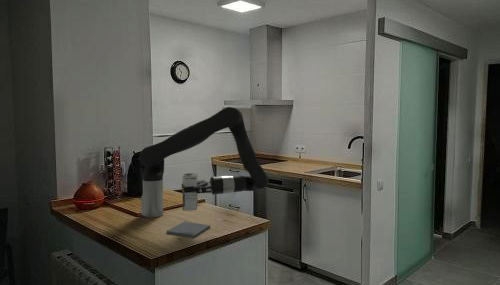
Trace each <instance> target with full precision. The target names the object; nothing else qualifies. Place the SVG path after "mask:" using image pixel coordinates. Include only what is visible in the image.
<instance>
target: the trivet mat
mask: <svg viewBox="0 0 500 285" xmlns="http://www.w3.org/2000/svg"><path fill="white" fill-rule="evenodd" d="M210 228H211V225H209V224H205V223H203V224H202V223H197V222H190V221H182V222H180V223H179V224H177V225H174V226H173V227H171V228H169V229H168V230H166V234H170V235H175V236H180V237H186V238H191V237H192V238H191V239H195V238H196V237H198V236H199V235H201V234H203V233H204V232H206V231H207V230H209V229H210ZM202 232H203V233H202Z"/></svg>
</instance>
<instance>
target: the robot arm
mask: <svg viewBox="0 0 500 285" xmlns="http://www.w3.org/2000/svg"><path fill="white" fill-rule="evenodd" d="M227 128H228V129H229V131H230V133H231V134H232V136H233V139H234V141H235V145H236V150H237V153H238V156H239V159H240V161H241V164H242V167H243V168H244V170H245V171H246V172H248V173H249V175H246V176H244V175H241V174H239V175H219V176H211V177H210V179H209V181H207V180H205V179H200V180H197V186H194V187H193V186H192V187H184V192H185V193H188V192H194V193H197V195H198V194H207V193H208V194H212V195H222V194H223V195H224V194H231V193H237V192H238V193H239V192H255V191H256V192H257V191H261V190H264V189H265V188H266V187H267V186H268V184H269V179H268V176H267V174H266V171H265V170H264V168H263V167H262V166H261V164H260V163H259V159H258V156H257V155H256V153H255V152H256V151H255V150H254V148H253V145H252V144H251V141H250V138H249V135H248V133H247V130H246V127H245V121H244V116H243V113H242V112H241V110H240V109H238V108H237V107H235V106H226V107H224V108H223V109H221V110H219V111H218V112H216V113H215V114H212V115H211V116H210V117H208V118H206V119H203V120H200V121H198V122H195V123H193V124H192V125H190V126H187V127H186V128H184V129H181V130H179V131H177V132H176V133H174V134H173V135H171V136H169V137H167V138H166V139H164V140H162V141H161V142H158V143H155V144H152V145H149V146H146V147H144V148H143V149H142V150H141V151H140V153H139V156H138V159H139V162H140V164H142V165H143V166H144V167H145V168H144V171H143V174H142V195H141V197H140V198H141V200H140V201H141V216H143V217H146V218H159V217H161V216H163V215H164V186H163V185H164V174H165V159H166V158H168V157H170V156H172V155H175V154H178V153H182V152H184V151H186V150H190V149H192V148H194V147H195V146H198V145H200V144H201V143H203V142H204V141H206V140H208V139H209V138H210V137H211V136H212V135H214V134H215V133H217V132H219V131H222V130H224V129H227ZM181 189H182V190H183V182H181Z"/></svg>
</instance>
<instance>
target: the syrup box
mask: <svg viewBox="0 0 500 285" xmlns="http://www.w3.org/2000/svg"><path fill="white" fill-rule="evenodd" d="M197 181H198V173H194V172H193V173H192V172H191V173H190V172H189V173H183V175H182V183H183V189H182V211H187V212H189V211H197V209H198V194H197V193H194V192H188V193H185V192H184V187H192V186H193V187H194V186H197Z"/></svg>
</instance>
